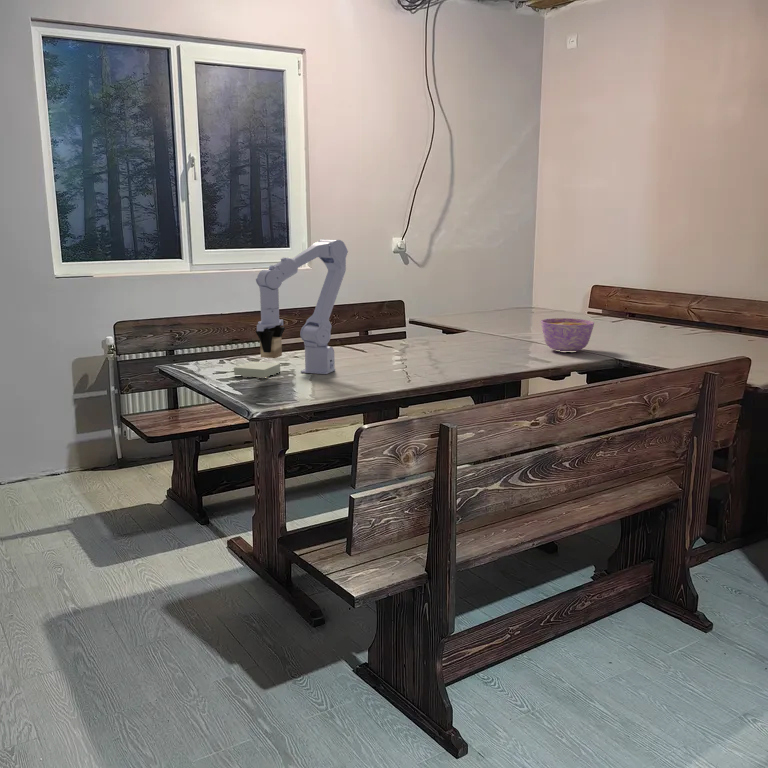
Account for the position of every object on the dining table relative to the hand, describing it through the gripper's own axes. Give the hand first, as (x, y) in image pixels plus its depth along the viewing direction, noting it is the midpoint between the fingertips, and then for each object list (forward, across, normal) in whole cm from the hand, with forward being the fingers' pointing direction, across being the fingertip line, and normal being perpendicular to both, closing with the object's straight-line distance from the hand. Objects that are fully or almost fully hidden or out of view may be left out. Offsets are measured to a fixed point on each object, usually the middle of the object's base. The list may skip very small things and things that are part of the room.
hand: (271, 350), depth 245 cm
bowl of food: (+9, -82, +84) cm, 118 cm away
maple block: (+2, 0, 0) cm, 2 cm away
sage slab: (+9, -4, -7) cm, 12 cm away
